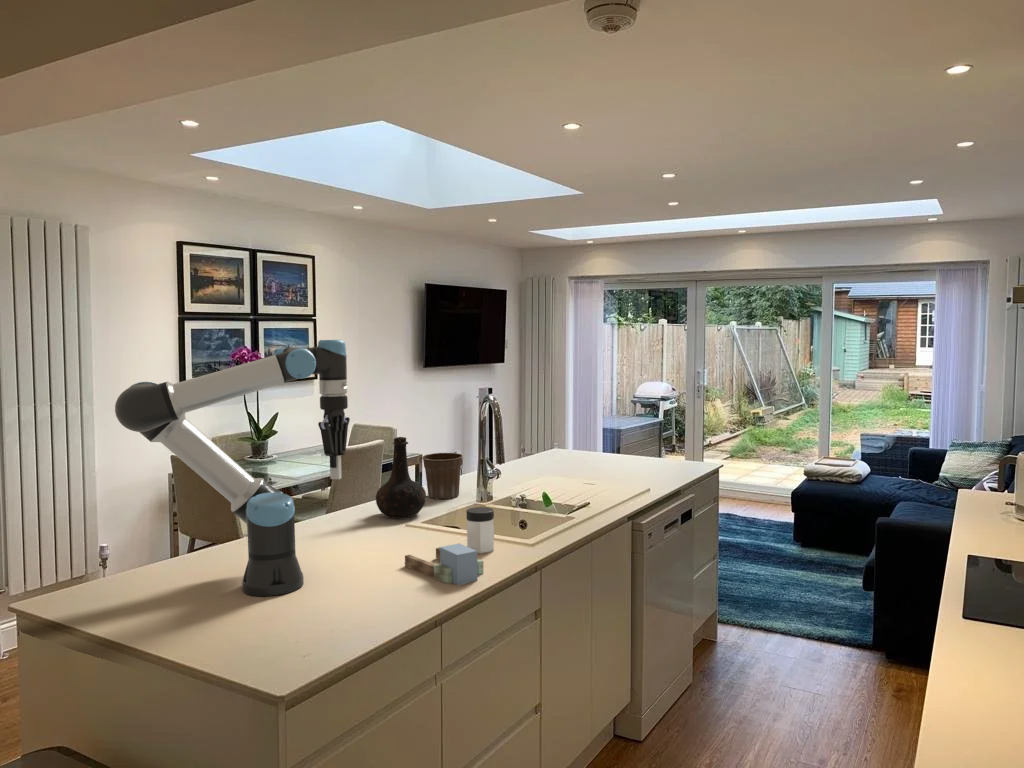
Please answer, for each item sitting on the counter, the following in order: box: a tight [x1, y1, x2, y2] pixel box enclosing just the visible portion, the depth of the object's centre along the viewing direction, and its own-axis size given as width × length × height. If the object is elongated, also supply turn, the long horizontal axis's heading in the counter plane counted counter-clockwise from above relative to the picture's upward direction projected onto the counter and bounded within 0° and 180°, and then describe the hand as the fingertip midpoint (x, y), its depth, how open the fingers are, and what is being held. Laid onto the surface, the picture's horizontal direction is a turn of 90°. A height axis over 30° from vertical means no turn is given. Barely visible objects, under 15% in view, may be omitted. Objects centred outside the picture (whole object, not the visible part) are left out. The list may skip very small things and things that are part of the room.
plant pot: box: [421, 452, 464, 500], centre depth 303 cm, size 16×16×16 cm
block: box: [439, 543, 478, 586], centre depth 202 cm, size 9×6×8 cm, turn 35°
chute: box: [404, 546, 484, 584], centre depth 210 cm, size 20×12×4 cm, turn 41°
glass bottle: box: [375, 436, 427, 519], centre depth 271 cm, size 18×18×28 cm
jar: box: [465, 506, 495, 555], centre depth 229 cm, size 9×8×12 cm
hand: (336, 478), depth 215 cm, fingers closed
